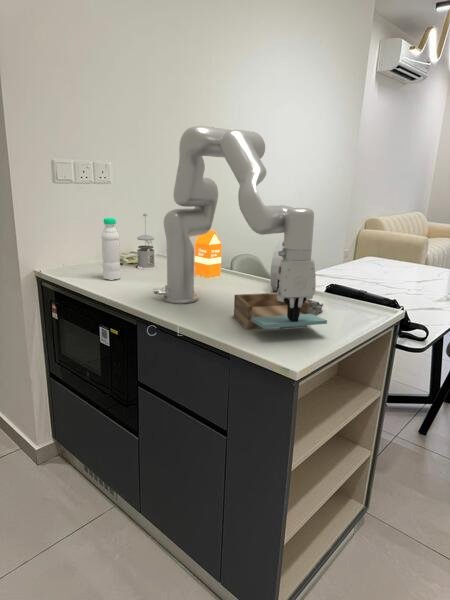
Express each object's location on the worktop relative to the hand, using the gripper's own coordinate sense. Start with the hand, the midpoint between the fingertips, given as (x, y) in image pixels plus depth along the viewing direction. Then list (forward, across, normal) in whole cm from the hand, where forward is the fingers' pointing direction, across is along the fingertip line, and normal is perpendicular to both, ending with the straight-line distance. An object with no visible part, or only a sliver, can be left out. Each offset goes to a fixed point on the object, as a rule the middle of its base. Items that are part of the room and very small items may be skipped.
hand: (293, 320), depth 124 cm
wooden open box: (+5, 0, +15) cm, 15 cm away
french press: (+4, -28, +101) cm, 105 cm away
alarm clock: (+5, +22, +52) cm, 56 cm away
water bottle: (+4, -45, +79) cm, 91 cm away
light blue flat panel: (+2, 0, +8) cm, 8 cm away
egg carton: (+5, +15, +20) cm, 26 cm away
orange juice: (+4, -4, +79) cm, 79 cm away
